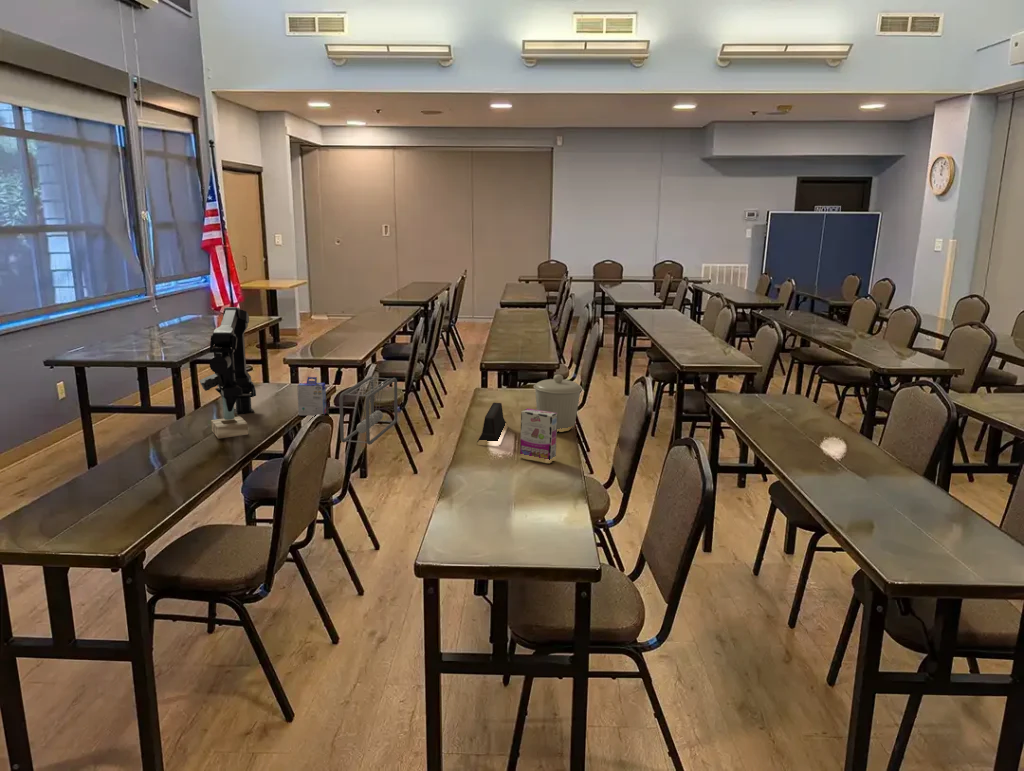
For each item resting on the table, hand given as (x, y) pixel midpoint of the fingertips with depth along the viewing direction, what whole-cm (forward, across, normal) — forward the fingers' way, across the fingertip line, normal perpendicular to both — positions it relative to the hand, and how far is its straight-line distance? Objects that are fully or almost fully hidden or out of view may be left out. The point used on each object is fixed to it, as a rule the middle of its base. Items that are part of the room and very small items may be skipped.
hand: (228, 410), depth 251 cm
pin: (+3, 0, 0) cm, 3 cm away
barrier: (+9, +48, +80) cm, 94 cm away
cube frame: (+9, +23, +43) cm, 50 cm away
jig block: (+8, 0, 0) cm, 8 cm away
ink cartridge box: (+9, -9, +33) cm, 35 cm away
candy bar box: (+8, +77, +79) cm, 111 cm away
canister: (+8, +53, +105) cm, 118 cm away
